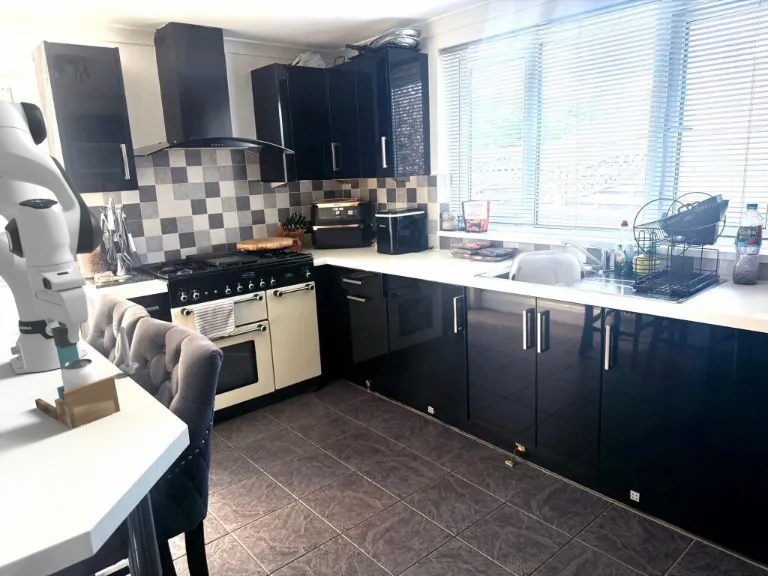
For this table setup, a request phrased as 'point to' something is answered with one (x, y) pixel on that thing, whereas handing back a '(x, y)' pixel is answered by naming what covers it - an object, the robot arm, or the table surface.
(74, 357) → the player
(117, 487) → the table surface
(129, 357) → the screw
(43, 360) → the robot arm
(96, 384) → the wooden box
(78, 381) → the can
